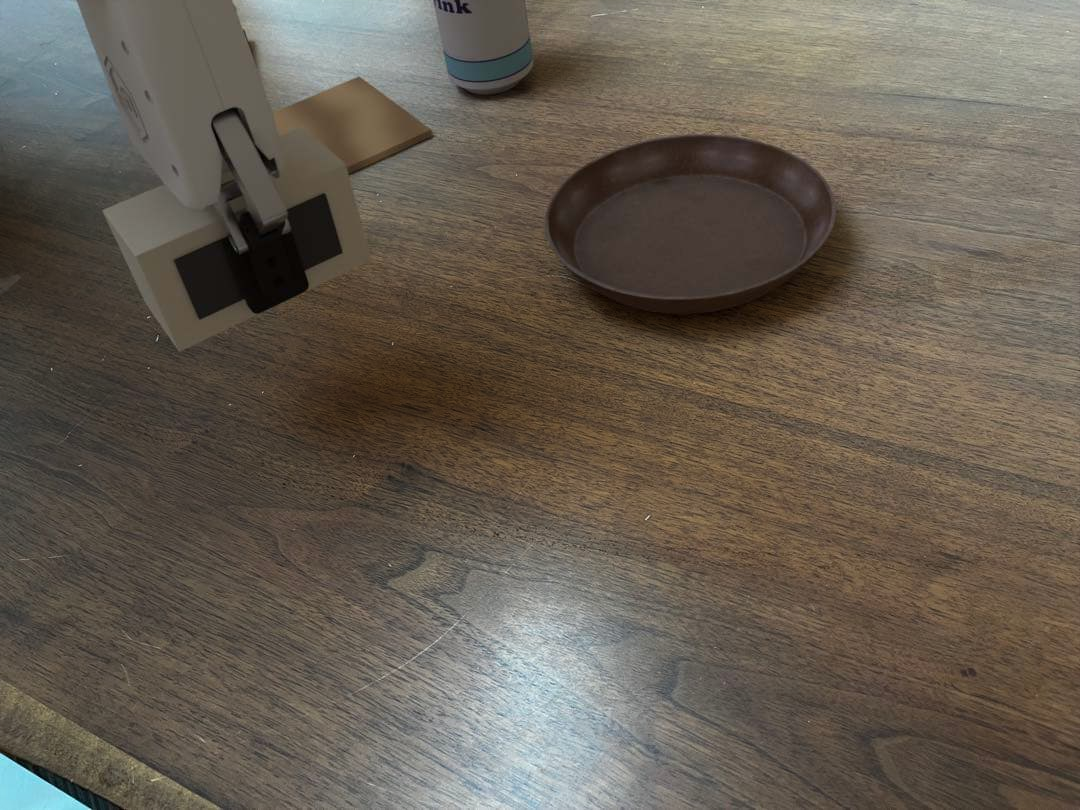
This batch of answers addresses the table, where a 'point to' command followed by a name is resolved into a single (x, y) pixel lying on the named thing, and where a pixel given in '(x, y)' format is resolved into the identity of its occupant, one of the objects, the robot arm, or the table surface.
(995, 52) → the table surface
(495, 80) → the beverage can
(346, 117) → the pad
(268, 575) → the table surface
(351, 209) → the clock
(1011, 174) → the table surface
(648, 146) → the plant saucer
